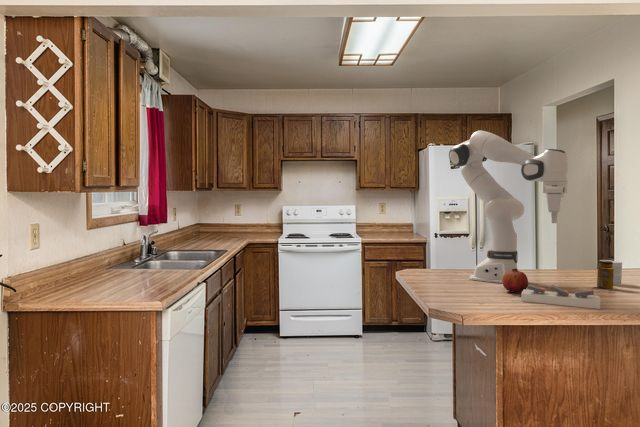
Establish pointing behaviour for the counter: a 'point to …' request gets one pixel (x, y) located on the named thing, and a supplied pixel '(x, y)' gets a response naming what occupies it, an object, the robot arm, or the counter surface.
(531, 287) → the rocker left
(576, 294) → the rocker right
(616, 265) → the small box
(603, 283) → the condiment
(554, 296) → the power strip
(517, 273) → the fruit
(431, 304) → the counter surface
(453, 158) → the robot arm
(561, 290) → the rocker middle
